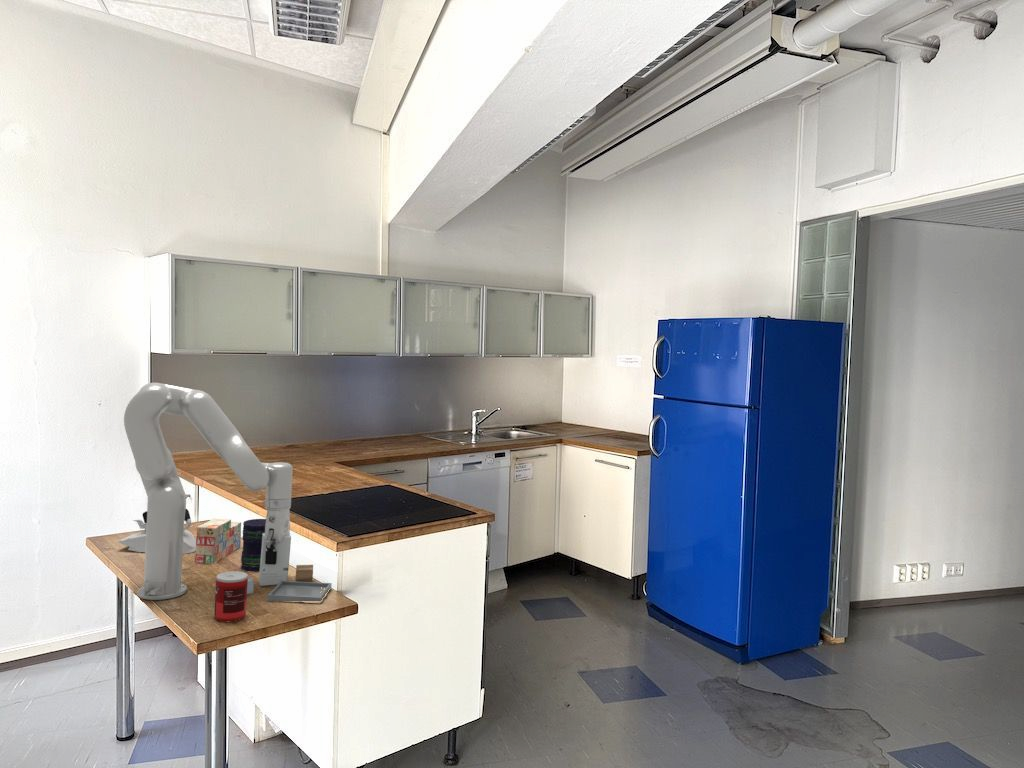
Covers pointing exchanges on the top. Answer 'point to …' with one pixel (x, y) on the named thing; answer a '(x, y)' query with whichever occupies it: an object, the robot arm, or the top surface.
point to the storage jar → (252, 544)
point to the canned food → (230, 596)
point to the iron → (139, 540)
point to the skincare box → (280, 569)
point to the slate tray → (298, 591)
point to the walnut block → (304, 573)
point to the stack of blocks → (217, 540)
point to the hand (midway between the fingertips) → (275, 559)
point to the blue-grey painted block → (250, 586)
